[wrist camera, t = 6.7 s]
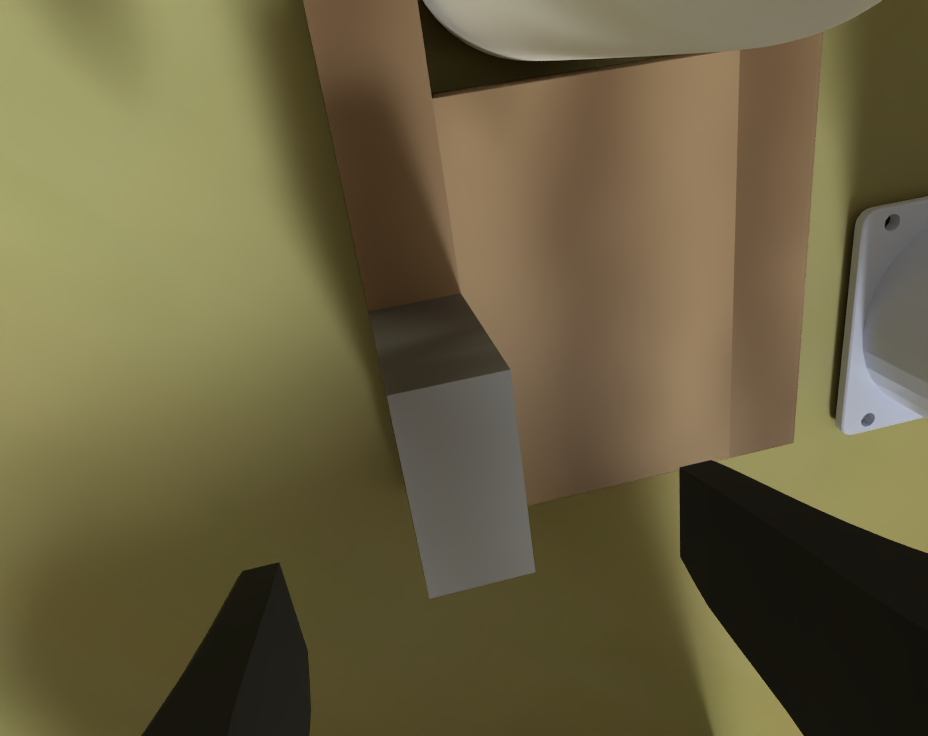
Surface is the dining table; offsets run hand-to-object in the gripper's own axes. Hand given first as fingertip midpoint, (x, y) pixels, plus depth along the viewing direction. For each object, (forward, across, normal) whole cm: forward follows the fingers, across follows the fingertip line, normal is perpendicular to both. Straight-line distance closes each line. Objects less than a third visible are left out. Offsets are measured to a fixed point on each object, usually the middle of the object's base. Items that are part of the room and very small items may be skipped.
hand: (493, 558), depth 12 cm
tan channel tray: (+9, -5, -6) cm, 12 cm away
